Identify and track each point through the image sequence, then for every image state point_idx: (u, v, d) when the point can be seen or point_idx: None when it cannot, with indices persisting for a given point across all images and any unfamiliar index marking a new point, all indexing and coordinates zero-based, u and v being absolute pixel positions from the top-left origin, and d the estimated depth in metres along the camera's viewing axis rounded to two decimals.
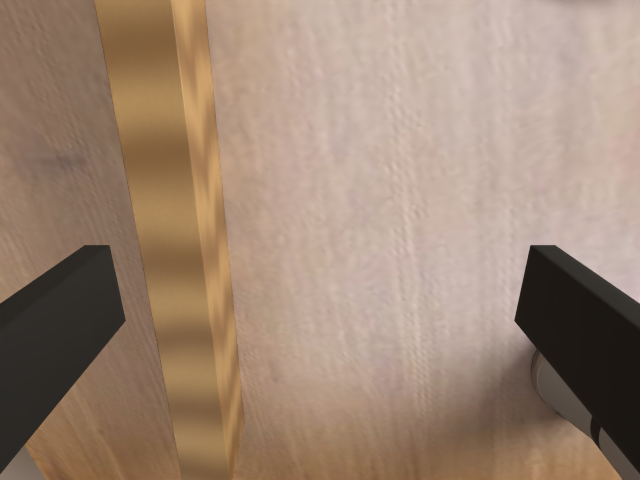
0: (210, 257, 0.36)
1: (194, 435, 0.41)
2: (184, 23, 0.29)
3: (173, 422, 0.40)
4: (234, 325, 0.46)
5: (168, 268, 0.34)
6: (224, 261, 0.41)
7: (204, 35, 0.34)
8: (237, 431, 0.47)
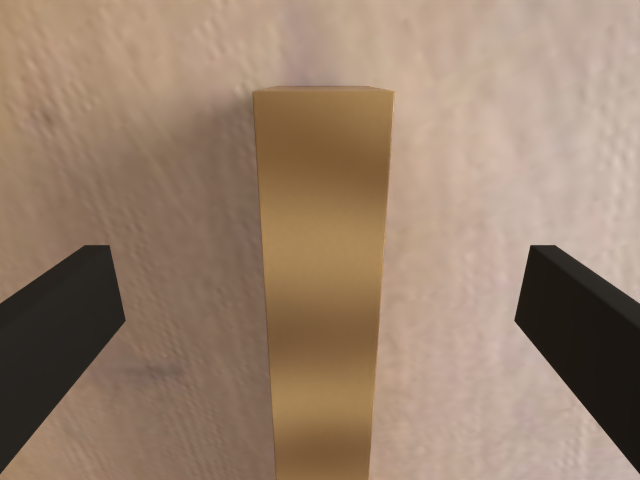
0: None
1: None
2: None
3: None
4: None
5: None
6: None
7: None
8: None
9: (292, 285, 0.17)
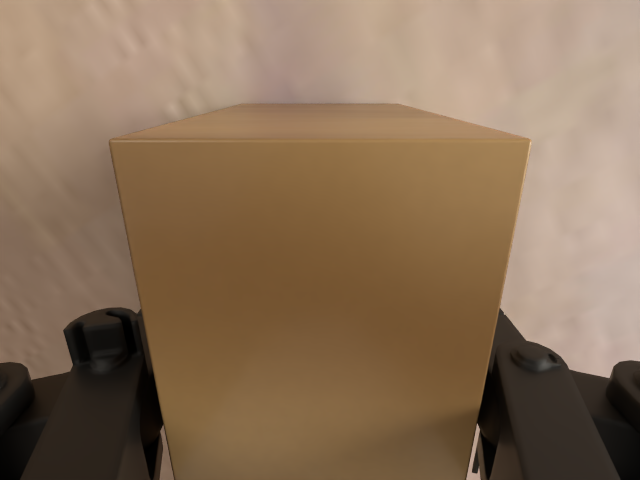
0: None
1: None
2: None
3: None
4: None
5: None
6: None
7: None
8: None
9: None
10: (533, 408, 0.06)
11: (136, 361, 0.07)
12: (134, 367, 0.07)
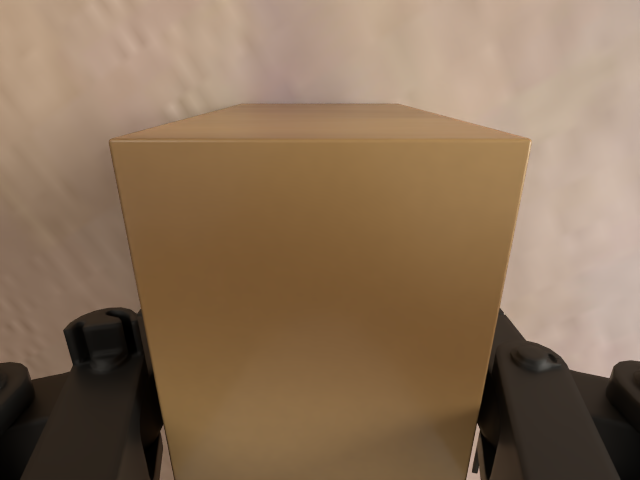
0: None
1: None
2: None
3: None
4: None
5: None
6: None
7: None
8: None
9: None
10: (533, 408, 0.06)
11: (136, 361, 0.07)
12: (134, 367, 0.07)
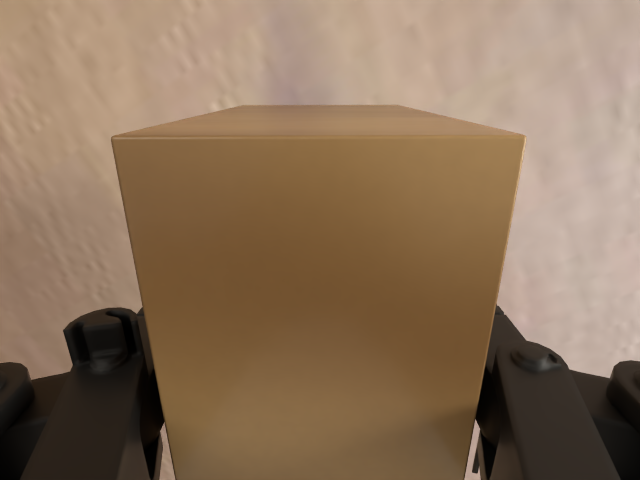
0: None
1: None
2: None
3: None
4: None
5: None
6: None
7: None
8: None
9: None
10: (533, 408, 0.06)
11: (136, 361, 0.07)
12: (134, 367, 0.07)
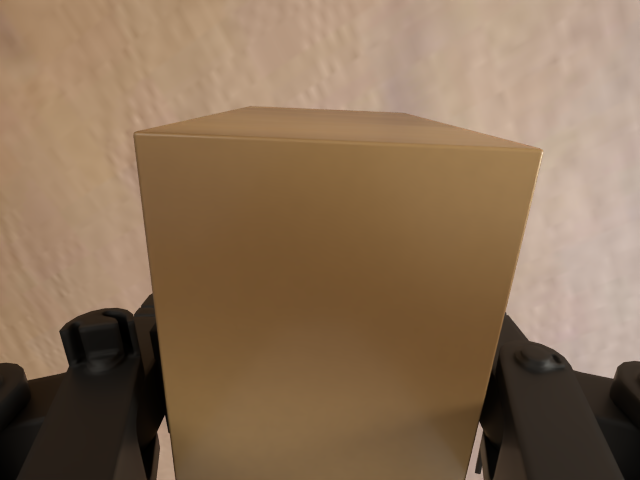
0: None
1: None
2: None
3: None
4: None
5: None
6: None
7: None
8: None
9: None
10: (537, 409, 0.06)
11: (133, 362, 0.07)
12: (131, 368, 0.07)
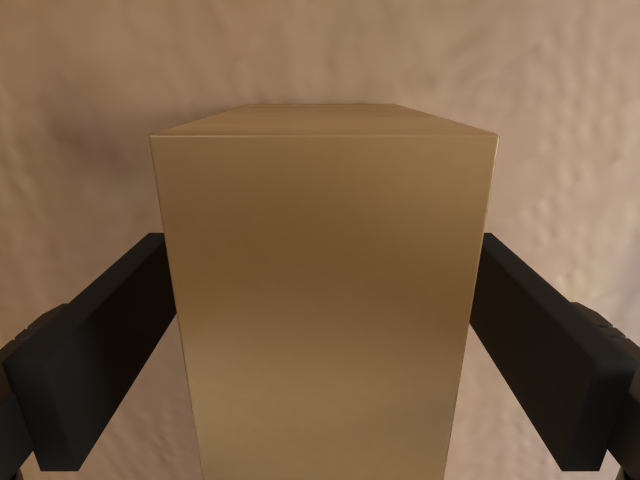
0: None
1: None
2: None
3: None
4: None
5: None
6: None
7: None
8: None
9: None
10: None
11: None
12: None
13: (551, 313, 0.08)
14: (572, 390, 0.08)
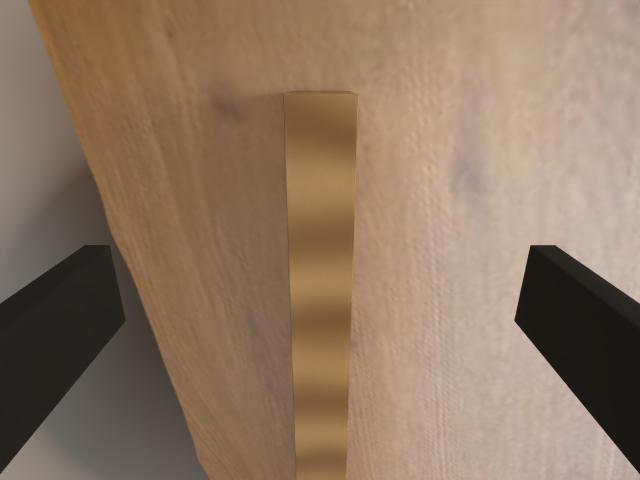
0: None
1: None
2: None
3: None
4: None
5: (316, 406, 0.38)
6: None
7: None
8: None
9: (303, 205, 0.30)
10: None
11: None
12: None
13: None
14: None
